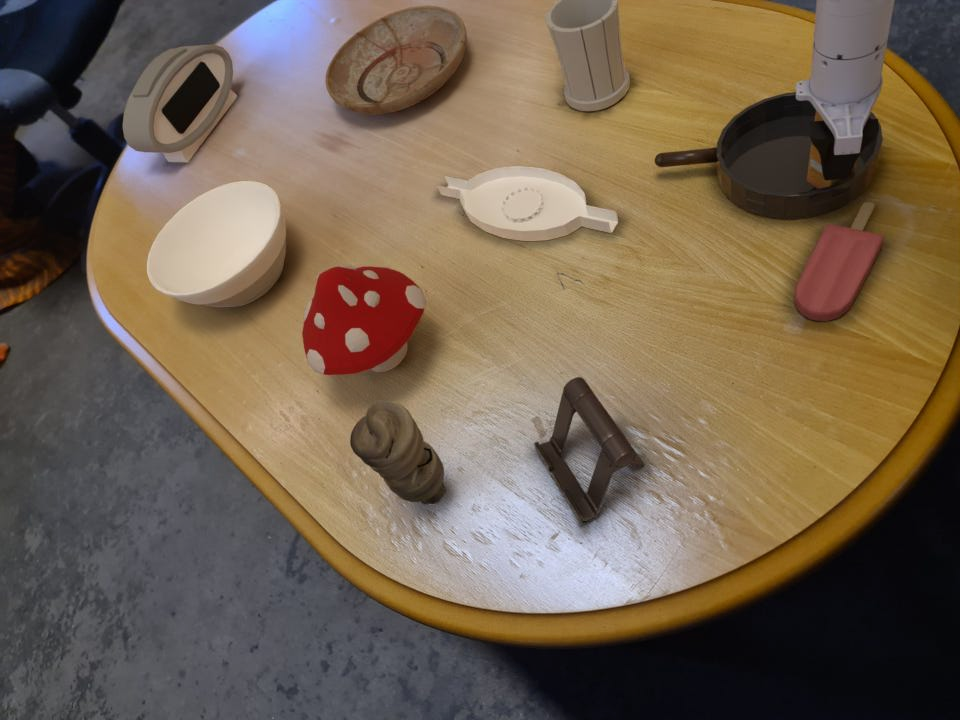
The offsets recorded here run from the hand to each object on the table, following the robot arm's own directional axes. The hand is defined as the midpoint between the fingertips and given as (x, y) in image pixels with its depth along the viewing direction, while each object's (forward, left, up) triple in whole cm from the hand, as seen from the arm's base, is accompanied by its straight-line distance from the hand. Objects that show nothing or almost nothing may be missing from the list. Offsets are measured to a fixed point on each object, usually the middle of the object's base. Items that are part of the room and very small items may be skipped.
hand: (834, 160), depth 70 cm
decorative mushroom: (+46, +21, -4) cm, 51 cm away
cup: (+28, -22, -4) cm, 36 cm away
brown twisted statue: (+36, +37, -4) cm, 52 cm away
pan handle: (+14, -4, -2) cm, 15 cm away
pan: (+3, -4, -4) cm, 7 cm away
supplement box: (0, 0, -3) cm, 3 cm away
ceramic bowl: (+59, -31, -4) cm, 67 cm away
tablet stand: (+21, +33, -4) cm, 40 cm away
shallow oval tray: (+34, -1, -4) cm, 34 cm away
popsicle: (0, +10, -4) cm, 11 cm away
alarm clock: (+97, -26, -4) cm, 101 cm away
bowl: (+72, +8, -4) cm, 73 cm away
